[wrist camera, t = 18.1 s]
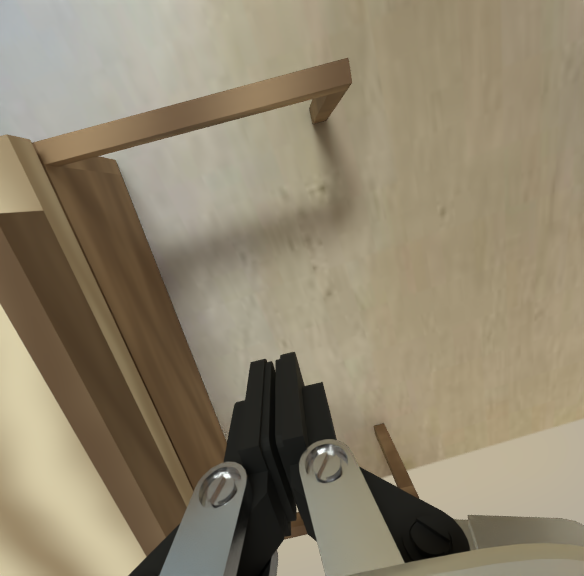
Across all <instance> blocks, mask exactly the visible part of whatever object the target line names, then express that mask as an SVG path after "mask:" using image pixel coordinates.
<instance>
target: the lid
mask: <svg viewBox="0 0 584 576" xmlns="http://www.w3.org/2000/svg"><path fill="white" fill-rule="evenodd" d="M192 494H193V490H192V487H191V485H190V483H189V481H188V479H187V477H186V474H185V472H184V470H183V468H182V466H181V464H180V462H179V459H178V457H177V455H176V453H175V451H174V449H173V446H172V444H171V442H170V440H169V438H168V436H167V433H166V431H165V429H164V427H163V425H162V423H161V421H160V418H159V416H158V414H157V412H156V410H155V408H154V405H153V403H152V401H151V399H150V397H149V395H148V393H147V390H146V388H145V386H144V384H143V382H142V380H141V377H140V375H139V373H138V371H137V369H136V367H135V365H134V362H133V360H132V358H131V356H130V354H129V352H128V349H127V347H126V345H125V343H124V341H123V339H122V337H121V334H120V332H119V330H118V328H117V326H116V324H115V321H114V319H113V317H112V315H111V313H110V311H109V309H108V306H107V304H106V302H105V300H104V298H103V296H102V293H101V291H100V289H99V287H98V285H97V283H96V281H95V278H94V276H93V274H92V272H91V270H90V268H89V265H88V263H87V261H86V259H85V257H84V255H83V252H82V250H81V248H80V246H79V244H78V242H77V240H76V237H75V235H74V233H73V231H72V229H71V227H70V224H69V222H68V220H67V218H66V216H65V214H64V212H63V209H62V207H61V205H60V203H59V201H58V199H57V196H56V194H55V192H54V190H53V188H52V186H51V184H50V181H49V179H48V177H47V175H46V173H45V171H44V168H43V166H42V164H41V162H40V160H39V158H38V156H37V153H36V151H35V149H34V147H33V145H32V143H31V140H29V139H25V138H20V137H16V136H11V135H3V136H0V576H128V575H129V574H130V573H131V572H132V571H133V570H134V569H135V568H136V567H137V566H138V565H139V564H140V563H141V562H142V561H143V560H144V559H145V558H146V557H147V556H148V555H149V554H150V553H151V552H152V551H153V550H154V549H155V548H156V547H157V546H158V545H159V544H160V543H161V542H162V541H163V540H164V539H165V538H166V537H167V536H168V535H169V534H170V533H171V532H172V531H173V530H174V529H175V528H176V527H177V526H178V525H179V524H180V523H181V521H182V519H183V516H184V514H185V511H186V509H187V506H188V504H189V501H190V499H191V497H192Z"/></svg>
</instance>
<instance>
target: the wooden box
mask: <svg viewBox="0 0 584 576" xmlns="http://www.w3.org/2000/svg"><path fill="white" fill-rule="evenodd" d="M351 83H352V78H351V72H350V66H349V60H348V58H345V59H341V60H338V61H334V62H330V63H327V64H323V65H319V66H315V67H312V68H308V69H304V70H301V71H297V72H293V73H289V74H286V75H282V76H278V77H275V78H271V79H267V80H263V81H260V82H256V83H252V84H249V85H245V86H241V87H237V88H234V89H230V90H226V91H223V92H219V93H215V94H211V95H208V96H204V97H200V98H197V99H193V100H189V101H186V102H182V103H178V104H174V105H171V106H167V107H163V108H160V109H156V110H152V111H148V112H145V113H141V114H137V115H134V116H130V117H126V118H122V119H119V120H115V121H111V122H108V123H104V124H100V125H96V126H93V127H89V128H85V129H82V130H78V131H74V132H70V133H67V134H63V135H59V136H56V137H52V138H48V139H44V140H41V141H37V142H33V143H32V145H33V147H34V149H35V151H36V153H37V156H38V158H39V160H40V162H41V164H42V166H43V168H44V171H45V173H46V175H47V177H48V179H49V181H50V184H51V186H52V188H53V190H54V192H55V194H56V196H57V199H58V201H59V203H60V205H61V207H62V209H63V212H64V214H65V216H66V218H67V220H68V222H69V224H70V227H71V229H72V231H73V233H74V235H75V237H76V240H77V242H78V244H79V246H80V248H81V250H82V252H83V255H84V257H85V259H86V261H87V263H88V265H89V268H90V270H91V272H92V274H93V276H94V278H95V281H96V283H97V285H98V287H99V289H100V291H101V293H102V296H103V298H104V300H105V302H106V304H107V306H108V309H109V311H110V313H111V315H112V317H113V319H114V321H115V324H116V326H117V328H118V330H119V332H120V334H121V337H122V339H123V341H124V343H125V345H126V347H127V349H128V352H129V354H130V356H131V358H132V360H133V362H134V365H135V367H136V369H137V371H138V373H139V375H140V377H141V380H142V382H143V384H144V386H145V388H146V390H147V393H148V395H149V397H150V399H151V401H152V403H153V405H154V408H155V410H156V412H157V414H158V416H159V418H160V421H161V423H162V425H163V427H164V429H165V431H166V433H167V436H168V438H169V440H170V442H171V444H172V446H173V449H174V451H175V453H176V455H177V457H178V459H179V462H180V464H181V466H182V468H183V470H184V472H185V474H186V477H187V479H188V481H189V483H190V485H191V487H192V490H193V492H194V489H195V487H196V485H197V484H198V482H199V480H200V479H201V478H202V477H203V475H204V474H205V473H206V472H207V471H209V470H210V469H211V468H213V467H215V466H217V465H218V464H221V463H223V462H224V456H225V451H226V446H227V442H226V440H225V437H224V435H223V432H222V430H221V427H220V425H219V422H218V419H217V417H216V414H215V412H214V409H213V407H212V404H211V402H210V399H209V397H208V394H207V392H206V389H205V386H204V384H203V381H202V379H201V376H200V374H199V371H198V369H197V366H196V364H195V361H194V358H193V356H192V353H191V351H190V348H189V346H188V343H187V341H186V338H185V336H184V333H183V331H182V328H181V325H180V323H179V320H178V318H177V315H176V313H175V310H174V308H173V305H172V303H171V300H170V297H169V295H168V292H167V290H166V287H165V285H164V282H163V280H162V277H161V275H160V272H159V270H158V267H157V264H156V262H155V259H154V257H153V254H152V252H151V249H150V247H149V244H148V242H147V239H146V237H145V234H144V231H143V229H142V226H141V224H140V221H139V219H138V216H137V214H136V211H135V209H134V206H133V203H132V201H131V198H130V196H129V193H128V191H127V188H126V186H125V183H124V181H123V178H122V176H121V173H120V170H119V168H118V165H117V163H116V160H113V159H108V158H104V157H99V156H101V155H104V154H108V153H112V152H116V151H119V150H123V149H127V148H131V147H134V146H138V145H142V144H146V143H149V142H153V141H157V140H161V139H164V138H168V137H172V136H176V135H179V134H183V133H187V132H191V131H194V130H198V129H202V128H205V127H209V126H213V125H217V124H220V123H224V122H228V121H232V120H235V119H239V118H243V117H247V116H250V115H254V114H258V113H262V112H265V111H269V110H273V109H277V108H280V107H284V106H288V105H292V104H295V103H299V102H303V101H307V100H310V99H313V100H312V103H311V105H310V108H309V109H310V114H311V119H312V124H315V123H319V122H322V121H326V120H327V119H328V117H329V116H330V114H331V113H332V111H333V110H334V109H335V107H336V106H337V104H338V103H339V101H340V100H341V98H342V97H343V95H344V94H345V92H346V91H347V89H348V88H349V86H350V85H351ZM374 429H375V434H376V436H377V439H378V441H379V444H380V446H381V448H382V451H383V453H384V456H385V458H386V460H387V463H388V465H389V468H390V470H391V472H392V475H393V477H394V479H395V482H396V484H397V487H398V488H400V489H402V490H404V491H406V492H407V493H409V494H411V495H413V496H415V497H417V498H419V496H418V494H417V492H416V490H415V488H414V486H413V484H412V482H411V479H410V478H409V475H408V473H407V471H406V469H405V467H404V465H403V463H402V460H401V458H400V456H399V454H398V452H397V450H396V448H395V446H394V444H393V441H392V439H391V437H390V435H389V433H388V431H387V429H386V427H385V425H384V424H380V425H375V426H374ZM305 534H307V531H306V529H305V526H304V523H303V520H302V519H301V516H300V514H299V512H297V520H296V521H291V536H287V537H284V538H285V539H288V538H293V537H297V536H301V535H305Z"/></svg>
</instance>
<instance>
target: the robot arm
mask: <svg viewBox="0 0 584 576" xmlns="http://www.w3.org/2000/svg"><path fill="white" fill-rule="evenodd" d="M296 505H297V508H298V511H299V514H300V516H301V519H302V520H303V523H304V526H305V529H306V531H307V534H308V535H309V536H311V537H312V538H313V539H314V540H315V541H317V543H318V547H319V552H320V555H321V559H322V563H323V567H324V571H325V575H326V576H584V525H582V524H580V523H578V522H576V521H572V520H567V519H562V518H540V517H538V518H537V517H511V516H483V515H468V520H456V519H453V518H451V517H450V516H448V515H447V514H446V513H444V512H443V511H441V510H439V509H437V508H435V507H434V506H432V505H430V504H428V503H426V502H424V501H422V500H420V499H419V498H417V497H415V496H413V495H411V494H409V493H407V492H406V491H404V490H402V489H400V488H398V487H396V486H394V485H392V484H391V483H389V482H387V481H385V480H383V479H381V478H379V477H377V476H376V475H374V474H372V473H370V472H368V471H366V470H364V469H362V468H361V467H359V466H358V464H357V462H356V460H355V458H354V455H353V453H352V452H351V450H350V449H349V447H348V446H347V445H345V444H344V443H342V442H340V441H337V439H336V435H335V431H334V426H333V422H332V418H331V414H330V410H329V406H328V402H327V398H326V394H325V390H324V386H323V382H321V383H316V384H312V385H308V386H304V382H303V379H302V375H301V372H300V368H299V364H298V361H297V357H296V354H295V352H291V353H287V354H283V355H280V359H279V360H276V372H275V369H274V366H273V363H272V361H271V362H267V360H266V359H262V360H258V361H254V362H251V364H250V370H249V377H248V384H247V391H246V398H245V401H240V402H236V403H235V405H234V410H233V415H232V420H231V425H230V430H229V436H228V441H227V446H226V451H225V456H224V462H223V463H221V464H218V465H217V466H215V467H213V468H211V469H210V470H209V471H207V472H206V473H205V474H204V475H203V477H202V478H201V479H200V480H199V482H198V484H197V485H196V487H195V489H194V492H193V494H192V497H191V499H190V501H189V504H188V506H187V509H186V511H185V514H184V516H183V519H182V521H181V523H180V524H179V525H178V526H177V527H176V528H175V529H174V530H173V531H172V532H171V533H170V534H169V535H168V536H167V537H166V538H165V539H164V540H163V541H162V542H161V543H160V544H159V545H158V546H157V547H156V548H155V549H154V550H153V551H152V552H151V553H150V554H149V555H148V556H147V557H146V558H145V559H144V560H143V561H142V562H141V563H140V564H139V565H138V566H137V567H136V568H135V569H134V570H133V571H132V572H131V573H130V574H129V575H128V576H276V575H277V566H278V553H277V549H278V547H279V546H280V544H281V543H282V542H283V540H284V539H285V538H284V537H287V536H291V521H296V520H297V512H296Z"/></svg>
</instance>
